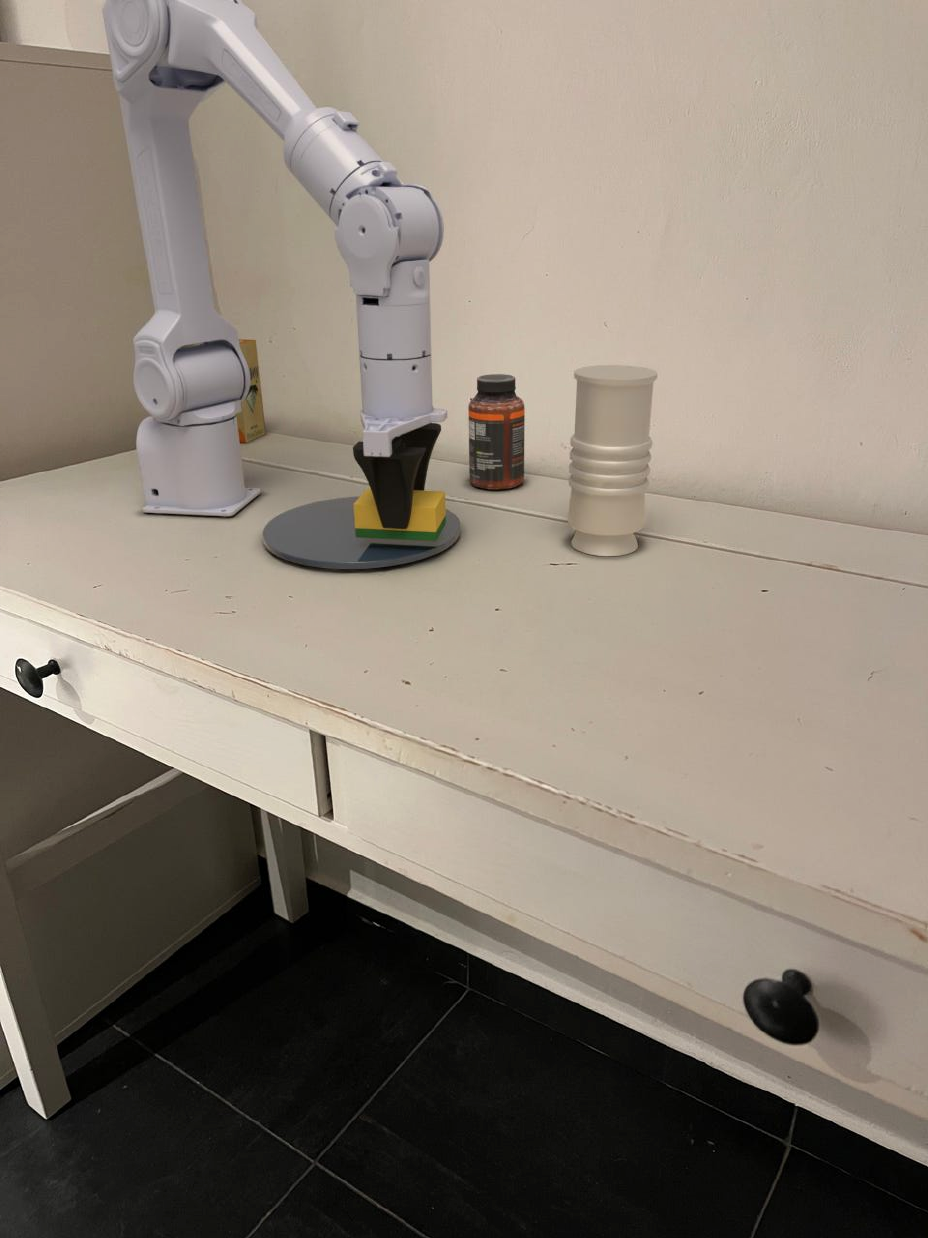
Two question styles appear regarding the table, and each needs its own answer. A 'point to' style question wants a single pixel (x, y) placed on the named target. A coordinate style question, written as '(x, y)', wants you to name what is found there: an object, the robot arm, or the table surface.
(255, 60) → the robot arm
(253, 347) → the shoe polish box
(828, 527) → the table surface
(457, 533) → the plate
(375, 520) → the sponge
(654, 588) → the table surface
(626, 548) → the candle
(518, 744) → the table surface
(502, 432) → the supplement bottle
